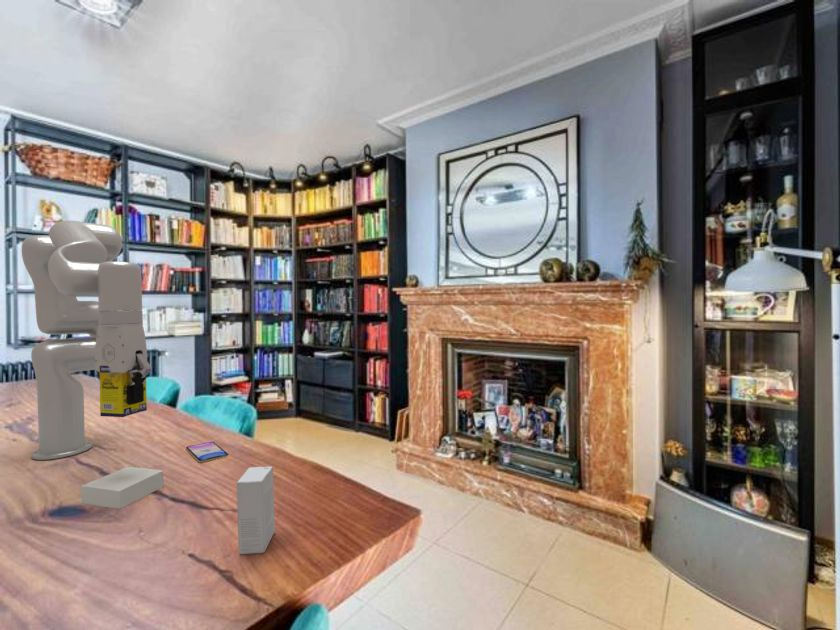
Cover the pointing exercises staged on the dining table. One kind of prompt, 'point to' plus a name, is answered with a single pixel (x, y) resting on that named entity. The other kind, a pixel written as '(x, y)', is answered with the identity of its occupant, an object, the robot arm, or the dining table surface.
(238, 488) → the skincare box
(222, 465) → the dining table surface
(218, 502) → the dining table surface
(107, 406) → the supplement box
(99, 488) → the white square block
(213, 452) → the smartphone
